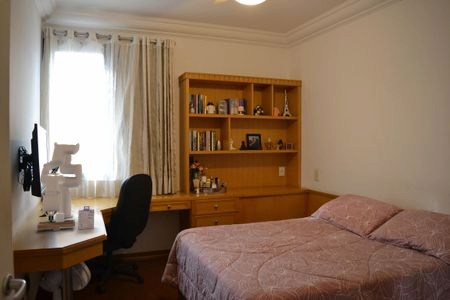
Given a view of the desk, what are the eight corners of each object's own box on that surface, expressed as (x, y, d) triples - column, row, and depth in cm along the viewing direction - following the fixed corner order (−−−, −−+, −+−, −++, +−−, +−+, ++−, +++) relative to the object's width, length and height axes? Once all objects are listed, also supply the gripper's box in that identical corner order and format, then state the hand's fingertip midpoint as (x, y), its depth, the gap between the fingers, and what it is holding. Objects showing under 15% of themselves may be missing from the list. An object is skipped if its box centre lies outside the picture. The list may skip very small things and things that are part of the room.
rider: (55, 222, 224) (55, 213, 224) (64, 221, 227) (64, 213, 227) (55, 223, 221) (55, 214, 220) (64, 223, 223) (64, 214, 223)
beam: (37, 229, 222) (37, 221, 222) (74, 226, 232) (74, 219, 232) (37, 232, 214) (37, 224, 214) (75, 229, 224) (75, 222, 224)
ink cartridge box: (94, 226, 233) (94, 205, 233) (93, 228, 228) (94, 207, 228) (78, 227, 230) (79, 206, 230) (77, 229, 225) (78, 207, 225)
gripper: (64, 192, 228) (63, 219, 228) (38, 193, 221) (38, 221, 221) (64, 193, 221) (63, 221, 221) (38, 194, 214) (37, 223, 215)
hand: (50, 221), depth 221 cm, fingers closed
